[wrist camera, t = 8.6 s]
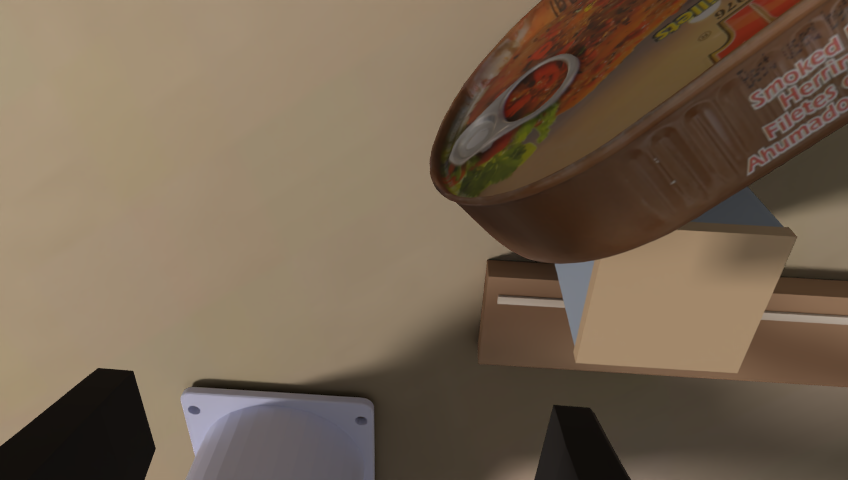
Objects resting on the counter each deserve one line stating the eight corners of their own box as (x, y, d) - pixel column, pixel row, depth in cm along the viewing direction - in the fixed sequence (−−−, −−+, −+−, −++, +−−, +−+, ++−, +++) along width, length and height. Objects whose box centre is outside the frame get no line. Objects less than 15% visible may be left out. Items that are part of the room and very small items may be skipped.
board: (845, 368, 23) (862, 389, 22) (477, 345, 23) (478, 365, 22) (893, 283, 21) (914, 303, 20) (487, 260, 21) (488, 278, 20)
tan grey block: (667, 245, 20) (737, 373, 15) (546, 239, 20) (575, 363, 15) (702, 132, 18) (797, 236, 13) (566, 125, 18) (608, 225, 13)
